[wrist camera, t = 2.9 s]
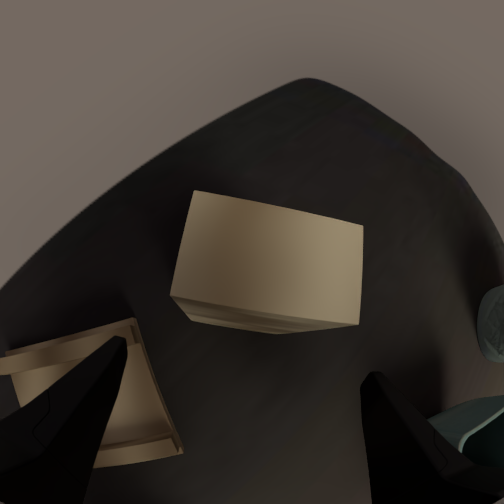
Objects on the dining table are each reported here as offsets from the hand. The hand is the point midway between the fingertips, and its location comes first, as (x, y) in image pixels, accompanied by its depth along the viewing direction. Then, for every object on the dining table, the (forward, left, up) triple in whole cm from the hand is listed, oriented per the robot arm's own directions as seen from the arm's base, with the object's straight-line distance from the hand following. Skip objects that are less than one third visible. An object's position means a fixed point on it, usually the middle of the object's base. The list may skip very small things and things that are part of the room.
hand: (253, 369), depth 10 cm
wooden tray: (+10, +6, -10) cm, 16 cm away
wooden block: (0, -4, -10) cm, 11 cm away
